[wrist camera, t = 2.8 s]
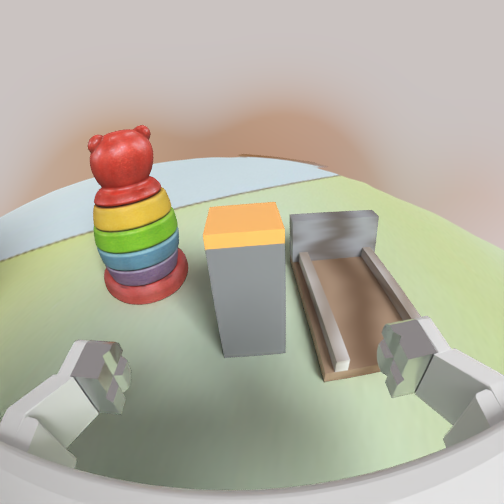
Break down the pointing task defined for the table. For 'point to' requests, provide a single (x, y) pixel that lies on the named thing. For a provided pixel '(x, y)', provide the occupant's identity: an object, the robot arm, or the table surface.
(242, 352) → the grey tall block
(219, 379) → the table surface
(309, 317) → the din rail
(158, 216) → the stacking bear
